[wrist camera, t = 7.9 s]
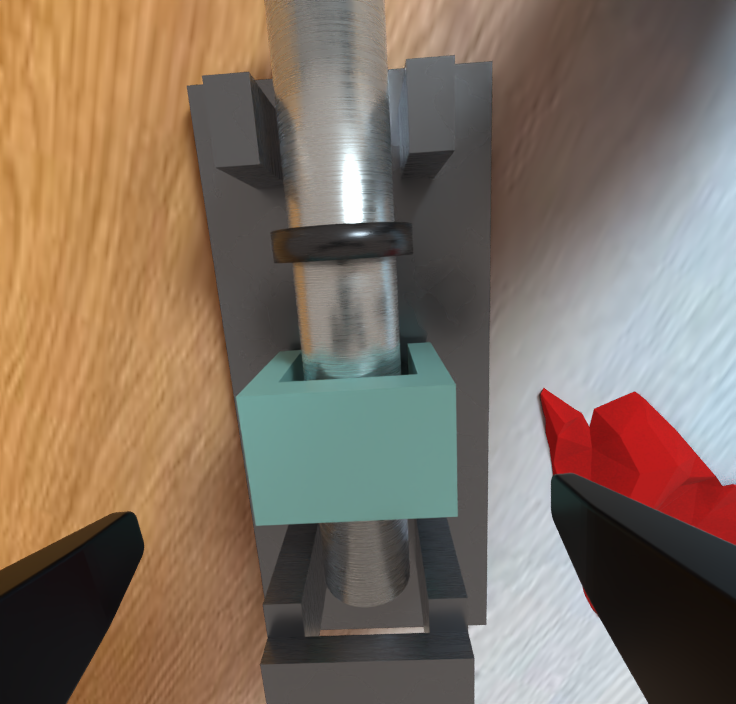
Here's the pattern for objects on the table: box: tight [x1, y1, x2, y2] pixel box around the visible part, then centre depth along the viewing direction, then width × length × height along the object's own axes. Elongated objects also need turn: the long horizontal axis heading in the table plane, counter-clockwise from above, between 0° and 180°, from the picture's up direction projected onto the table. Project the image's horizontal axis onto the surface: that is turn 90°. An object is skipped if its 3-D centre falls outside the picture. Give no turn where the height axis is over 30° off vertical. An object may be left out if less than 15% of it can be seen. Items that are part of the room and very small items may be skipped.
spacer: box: [236, 342, 458, 526], centre depth 15 cm, size 4×7×6 cm
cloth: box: [540, 388, 736, 613], centre depth 21 cm, size 26×14×2 cm, turn 40°
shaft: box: [264, 0, 413, 607], centre depth 14 cm, size 23×5×5 cm, turn 4°
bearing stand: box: [187, 55, 492, 704], centre depth 16 cm, size 27×12×8 cm, turn 4°
